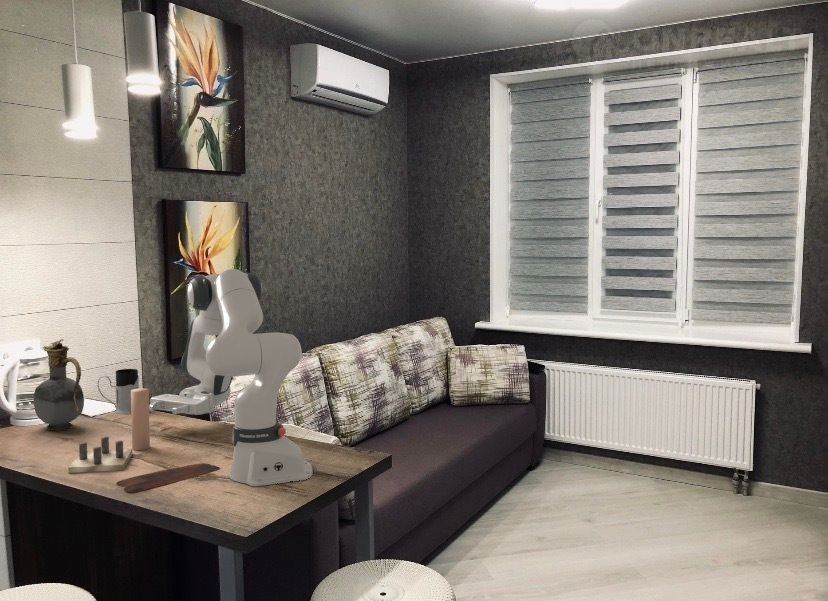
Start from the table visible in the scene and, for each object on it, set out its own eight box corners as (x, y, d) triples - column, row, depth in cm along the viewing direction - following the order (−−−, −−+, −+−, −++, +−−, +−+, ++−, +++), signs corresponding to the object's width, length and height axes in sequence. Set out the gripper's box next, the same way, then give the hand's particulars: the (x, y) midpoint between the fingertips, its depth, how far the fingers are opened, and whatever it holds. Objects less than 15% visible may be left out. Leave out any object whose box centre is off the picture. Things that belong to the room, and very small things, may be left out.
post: (151, 445, 213) (149, 388, 212) (148, 450, 209) (147, 391, 207) (133, 446, 212) (132, 388, 211) (130, 451, 207) (129, 392, 206)
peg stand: (132, 453, 205) (131, 434, 204) (123, 469, 191) (122, 448, 191) (81, 456, 202) (80, 436, 201) (68, 472, 188) (67, 451, 188)
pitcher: (60, 420, 239) (57, 334, 236) (96, 429, 229) (93, 339, 226) (29, 428, 229) (26, 339, 226) (66, 437, 220) (62, 344, 217)
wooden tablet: (206, 458, 200) (223, 462, 192) (206, 465, 200) (224, 470, 193) (113, 481, 181) (128, 486, 174) (114, 489, 181) (129, 495, 174)
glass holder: (142, 412, 251) (141, 371, 249) (99, 417, 244) (98, 375, 242) (138, 407, 258) (138, 367, 257) (97, 411, 252) (96, 370, 250)
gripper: (167, 387, 234) (136, 396, 221) (216, 394, 226) (187, 403, 214) (168, 406, 235) (137, 415, 222) (216, 412, 227) (187, 423, 214)
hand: (162, 409), depth 218 cm, fingers open, 8 cm apart
